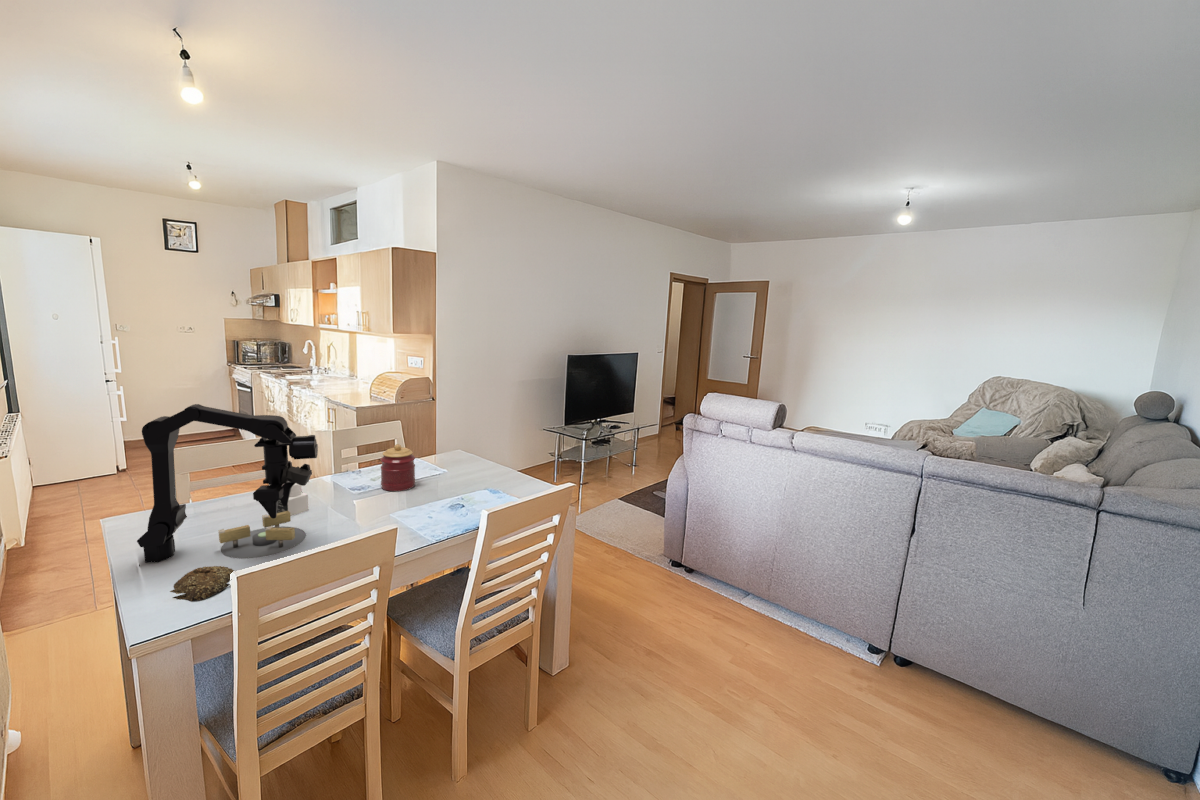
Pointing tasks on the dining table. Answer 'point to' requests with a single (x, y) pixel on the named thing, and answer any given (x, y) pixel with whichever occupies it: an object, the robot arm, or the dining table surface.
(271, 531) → the knob near
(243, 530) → the knob left
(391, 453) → the canister
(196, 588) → the brown speckled lumpy part
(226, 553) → the levelling base
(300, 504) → the medicine bottle
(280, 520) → the wooden plank block
